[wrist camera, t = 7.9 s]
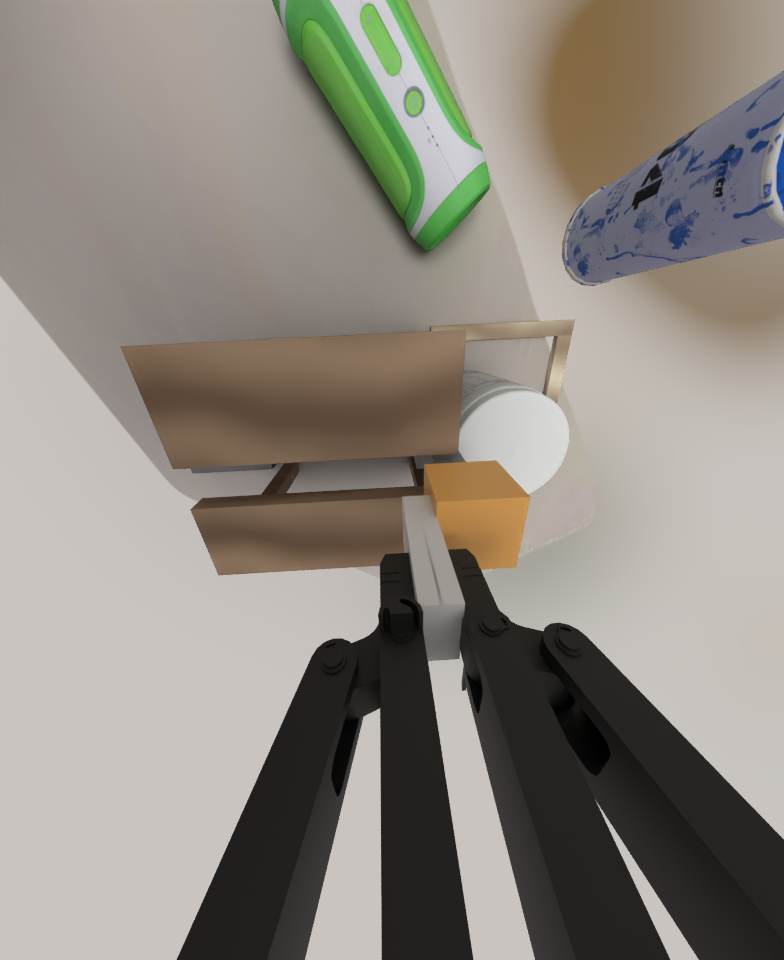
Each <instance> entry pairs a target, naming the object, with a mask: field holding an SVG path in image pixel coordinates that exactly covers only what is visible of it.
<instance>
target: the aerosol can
mask: <svg viewBox="0 0 784 960" xmlns="http://www.w3.org/2000/svg"><path fill="white" fill-rule="evenodd" d="M781 238H784V71H783V72H781V73H780V74H778V75H777V76H775V77H774V78H772V79H771V80H769V81H767V82H766V83H764V84H763V85H761V86H760V87H758V88H757V89H755V90H754V91H752V92H750V93H749V94H748V95H746V96H744V97H743V98H742V99H740V100H739V101H737V102H735V103H734V104H732V105H731V106H729V107H728V108H726V109H725V110H723V111H721V112H720V113H718V114H717V115H715V116H714V117H713V118H711V119H709V120H708V121H706V122H705V123H703V124H702V125H700V126H699V127H697V128H696V129H694V130H693V131H691V132H689V133H688V134H686V135H685V136H683V137H682V138H680V139H679V140H677V141H676V142H674V143H673V144H672V145H670V146H668V147H667V148H665V149H663V150H662V151H660V152H659V153H657V154H656V155H654V156H653V157H651V158H650V159H648V160H647V161H645V162H644V163H642V164H640V165H639V166H638V167H636V168H634V169H633V170H631V171H630V172H628V173H627V174H625V175H624V176H622V177H621V178H619V179H618V180H616V181H615V182H613V183H611V184H610V185H607V186H604V187H601V188H600V189H598V190H597V191H596V192H594V193H593V194H591V195H590V196H588V197H587V198H586V199H585V200H584V201H583V202H582V204H581V205H580V206H579V207H578V208H577V209H576V211H575V212H574V214H573V216H572V218H571V220H570V222H569V224H568V225H567V228H566V232H565V236H564V240H563V250H562V258H563V261H564V265H565V269H566V271H567V272H568V274H569V275H570V277H571V278H572V279H573V280H574V281H576V282H578V283H580V284H581V285H590V286H594V285H598V284H601V283H605V282H608V281H610V280H611V279H615V278H619V277H623V276H628V275H631V274H636V273H640V272H644V271H648V270H653V269H657V268H661V267H665V266H669V265H673V264H677V263H682V262H686V261H690V260H694V259H698V258H702V257H707V256H711V255H715V254H719V253H723V252H727V251H731V250H736V249H740V248H744V247H748V246H752V245H756V244H760V243H765V242H769V241H773V240H777V239H781Z"/></svg>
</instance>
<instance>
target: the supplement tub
mask: <svg viewBox="0 0 784 960" xmlns="http://www.w3.org/2000/svg"><path fill="white" fill-rule="evenodd" d="M568 443H569V427H568V422H567V419H566V417H565V415H564V413H563V411H562V410H561V408H560V407H559V406H558V404H556V403H555V402H554V401H553V400H552V399H550V398H549V397H547V396H545V395H544V394H542V393H540V392H539V391H537V390H534V389H532V388H529V387H526V386H523V385H520V384H517V383H514V382H511V381H507V380H504V379H501V378H498V377H494V376H491V375H488V374H484V373H481V372H477V371H464V372H463V388H462V403H461V418H460V434H459V449H458V451H459V452H460V454H461V455H462V457H463V458H464V460H465V461H466V462H475V461H493V460H497V462H498V463H499V464H500V465H501V466H502V467H503V468H504V469H505V470H506V471H507V472H508V473H509V474H510V476H511V477H512V478H513V479H514V480H515V481H516V482H517V483H518V484H519V485H520V486H521V487H522V488H523V490H524V491H525V492H526V493H527V494H530V493H532V492H533V491H535V490H537V489H538V488H540V487H541V486H542V485H544V484H545V483H546V482H547V481H548V480H549V479H550V478H551V477H552V476H553V475H554V474H555V472H556V471H557V470H558V468H559V467H560V465H561V464H562V462H563V460H564V457H565V455H566V452H567V448H568Z"/></svg>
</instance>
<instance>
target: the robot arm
mask: <svg viewBox="0 0 784 960" xmlns="http://www.w3.org/2000/svg"><path fill="white" fill-rule="evenodd" d="M402 517H403V543H404V551H405V553H395V554H385V555H384V557H383V559H382V561H381V562H380V594H381V596H380V597H381V598H380V599H381V607H380V610H379V614H378V617H379V624H378V626H377V628H376V629H375V631H374V632H372V633H371V634H370V635H369V636H367V637H365V638H364V639H361V640H359V641H356V642H354V643H350V642H349V641H347V640H344V639H332V640H329V641H326V642H324V643H323V644H322V645H321V646H319V647H318V648H317V649H316V651H315V653H314V654H313V656H312V657H311V660H310V662H309V664H308V666H307V669H306V671H305V673H304V675H303V678H302V680H301V682H300V684H299V687H298V689H297V691H296V693H295V696H294V698H293V700H292V702H291V705H290V707H289V709H288V711H287V713H286V716H285V718H284V720H283V722H282V725H281V727H280V730H279V731H278V734H277V736H276V738H275V740H274V743H273V745H272V747H271V749H270V752H269V754H268V756H267V758H266V761H265V763H264V765H263V767H262V770H261V772H260V774H259V776H258V779H257V781H256V783H255V785H254V788H253V790H252V792H251V794H250V797H249V799H248V801H247V803H246V805H245V808H244V810H243V812H242V814H241V817H240V819H239V821H238V823H237V826H236V828H235V830H234V832H233V835H232V837H231V839H230V842H229V844H228V846H227V848H226V850H225V853H224V855H223V857H222V859H221V862H220V864H219V866H218V868H217V871H216V873H215V875H214V877H213V880H212V882H211V884H210V886H209V888H208V891H207V893H206V895H205V898H204V900H203V903H202V904H201V907H200V909H199V911H198V913H197V915H196V918H195V920H194V922H193V924H192V927H191V929H190V931H189V934H188V936H187V938H186V940H185V943H184V945H183V947H182V949H181V951H180V954H179V956H178V958H177V960H305V956H306V952H307V948H308V944H309V940H310V935H311V932H312V927H313V923H314V919H315V914H316V911H317V907H318V903H319V899H320V894H321V890H322V886H323V882H324V878H325V874H326V869H327V865H328V861H329V857H330V853H331V849H332V844H333V840H334V836H335V832H336V828H337V824H338V820H339V816H340V812H341V807H342V803H343V799H344V795H345V791H346V787H347V782H348V778H349V774H350V770H351V765H352V762H353V758H354V754H355V749H356V745H357V741H358V737H359V733H360V728H361V725H362V720H363V716H365V715H367V714H369V713H371V712H373V711H375V710H377V709H379V708H380V714H381V715H380V720H381V721H380V723H381V725H380V728H381V883H382V884H381V891H382V892H381V894H382V895H381V896H382V960H473V954H472V948H471V941H470V935H469V928H468V921H467V915H466V909H465V902H464V895H463V889H462V882H461V876H460V869H459V862H458V856H457V850H456V844H455V836H454V830H453V823H452V817H451V810H450V804H449V797H448V790H447V784H446V778H445V772H444V764H443V758H442V751H441V745H440V738H439V732H438V725H437V719H436V712H435V705H434V699H433V692H432V686H431V679H430V672H429V666H428V661H433V660H449V659H459V656H460V655H459V654H460V651H461V655H462V659H463V663H464V668H463V677H462V690H466V688H467V692H468V696H469V700H470V704H471V708H472V711H473V716H474V719H475V723H476V727H477V731H478V735H479V739H480V743H481V747H482V751H483V755H484V759H485V763H486V767H487V771H488V775H489V779H490V783H491V787H492V791H493V794H494V799H495V802H496V806H497V810H498V814H499V818H500V822H501V826H502V830H503V834H504V838H505V841H506V846H507V849H508V854H509V857H510V862H511V866H512V870H513V874H514V877H515V881H516V885H517V889H518V893H519V897H520V901H521V905H522V909H523V913H524V917H525V921H526V925H527V929H528V933H529V937H530V941H531V945H532V948H533V952H534V957H535V960H670V958H669V956H668V954H667V952H666V950H665V948H664V946H663V943H662V941H661V939H660V937H659V935H658V933H657V930H656V928H655V926H654V924H653V922H652V920H651V918H650V916H649V913H648V911H647V909H646V907H645V905H644V903H643V901H642V898H641V896H640V894H639V892H638V890H637V888H636V886H635V884H634V881H633V879H632V877H631V875H630V873H629V871H628V869H627V867H626V864H625V862H624V860H623V858H622V856H621V854H620V852H619V849H618V847H617V846H616V843H615V841H614V839H613V837H612V835H611V832H610V831H609V828H608V826H607V824H606V822H605V820H604V818H603V815H602V813H601V811H600V809H599V807H598V805H597V803H598V804H599V806H600V807H601V809H602V810H603V812H604V813H605V815H606V817H607V818H608V820H609V821H610V823H611V824H612V826H613V827H614V829H615V830H616V832H617V834H618V835H619V837H620V838H621V840H622V841H623V843H624V844H625V846H626V847H627V849H628V851H629V852H630V854H631V855H632V857H633V858H634V860H635V861H636V863H637V865H638V866H639V868H640V869H641V871H642V872H643V874H644V875H645V877H646V878H647V880H648V882H649V883H650V885H651V886H652V888H653V889H654V891H655V892H656V894H657V896H658V897H659V898H660V900H661V902H662V903H663V905H664V906H665V908H666V909H667V911H668V912H669V914H670V915H671V917H672V919H673V920H674V922H675V923H676V925H677V926H678V928H679V929H680V931H681V933H682V934H683V936H684V937H685V939H686V940H687V942H688V944H689V945H690V947H691V948H692V950H693V951H694V953H695V954H696V956H697V957H698V959H699V960H784V839H783V838H782V837H781V836H780V835H779V834H778V833H777V832H776V831H775V830H774V829H773V828H772V827H771V826H770V825H769V824H768V823H767V822H766V821H765V820H764V819H763V818H762V817H761V816H760V815H759V814H758V813H757V812H756V811H755V809H754V808H753V807H752V806H751V805H750V804H749V803H747V801H746V800H745V799H744V798H743V797H742V796H741V795H740V794H739V793H738V792H737V791H736V790H735V789H734V788H733V787H732V786H731V785H730V784H729V783H728V782H727V781H726V780H725V779H724V778H723V777H722V776H721V775H720V774H719V772H718V771H717V770H716V769H715V768H714V767H713V766H712V765H711V764H710V763H709V762H708V761H707V760H706V759H705V758H704V757H703V756H702V755H701V754H700V753H699V752H698V751H697V750H696V749H695V748H694V747H693V746H692V745H691V744H690V743H689V742H688V741H687V739H686V738H684V737H683V735H682V734H681V733H680V732H679V731H678V730H677V729H676V728H675V727H674V726H673V725H672V724H671V723H670V722H669V721H668V720H667V719H666V718H665V717H664V716H663V715H662V714H661V713H660V712H659V711H658V710H657V709H656V708H655V706H653V704H651V702H650V701H649V700H647V698H646V697H645V696H644V695H643V694H642V693H641V692H640V691H639V690H638V689H637V688H636V687H635V686H634V685H633V684H632V683H631V682H630V681H629V680H628V679H627V678H626V677H625V676H624V675H623V674H622V673H621V672H620V671H619V669H617V667H616V666H615V665H614V664H613V663H612V662H611V661H610V660H609V659H608V658H607V657H606V656H605V655H604V654H603V653H602V652H601V651H600V650H599V649H598V648H597V647H596V646H595V645H594V644H593V643H592V642H591V641H590V640H589V639H588V637H586V636H585V635H584V634H583V633H582V632H580V631H579V630H578V629H576V628H574V627H572V626H569V625H566V624H562V623H553V624H550V625H548V626H547V627H545V629H544V631H539V630H535V629H530V628H526V627H522V626H519V625H517V624H515V623H513V622H511V621H510V620H509V618H508V617H507V616H505V615H504V614H503V613H502V612H500V611H499V609H498V607H497V605H496V603H495V601H494V598H493V596H492V594H491V592H490V590H489V587H488V585H487V583H486V581H485V578H484V577H483V574H482V571H481V569H480V568H479V565H478V562H477V560H476V558H475V556H474V555H473V554H472V553H471V552H470V551H469V550H467V549H449V550H448V549H447V546H446V543H445V540H444V537H443V534H442V531H441V528H440V525H439V522H438V519H437V518H436V514H435V511H434V508H433V505H432V502H431V498H430V495H422V496H404V497H402ZM595 800H596V801H597V803H596V801H595Z"/></svg>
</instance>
